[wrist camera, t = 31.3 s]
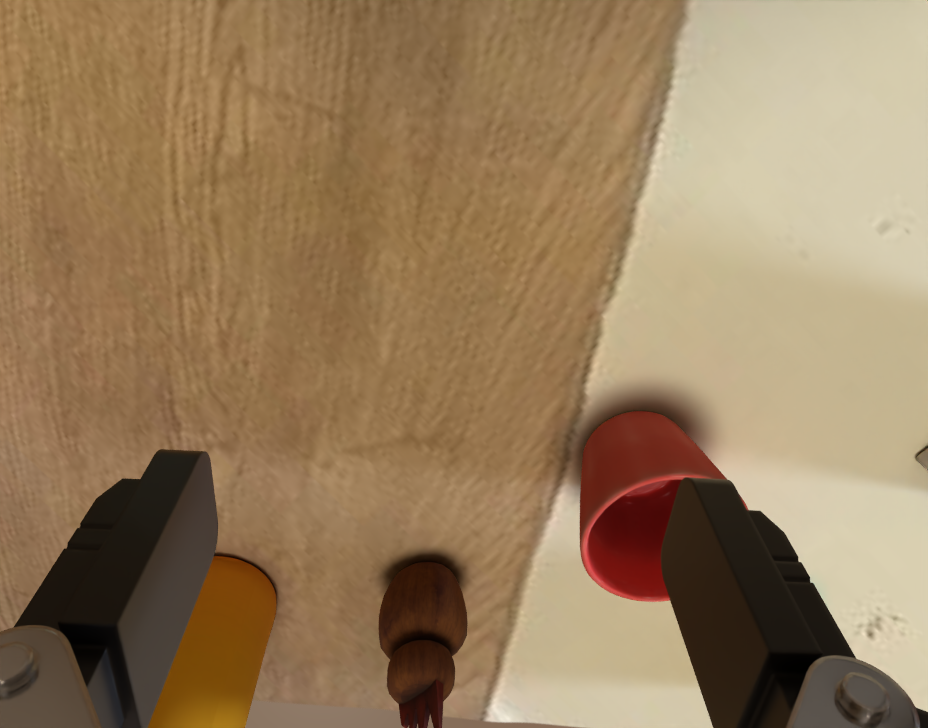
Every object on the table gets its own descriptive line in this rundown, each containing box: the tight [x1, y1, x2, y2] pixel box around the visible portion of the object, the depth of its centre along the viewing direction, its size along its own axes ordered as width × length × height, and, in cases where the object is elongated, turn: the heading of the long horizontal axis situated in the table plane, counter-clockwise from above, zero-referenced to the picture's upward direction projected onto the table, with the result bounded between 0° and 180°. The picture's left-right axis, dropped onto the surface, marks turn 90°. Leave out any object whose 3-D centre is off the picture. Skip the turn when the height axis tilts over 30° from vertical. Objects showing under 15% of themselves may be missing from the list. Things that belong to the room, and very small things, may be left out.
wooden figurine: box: [379, 562, 467, 728], centre depth 54 cm, size 7×6×15 cm
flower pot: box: [580, 411, 748, 602], centre depth 50 cm, size 11×11×10 cm
